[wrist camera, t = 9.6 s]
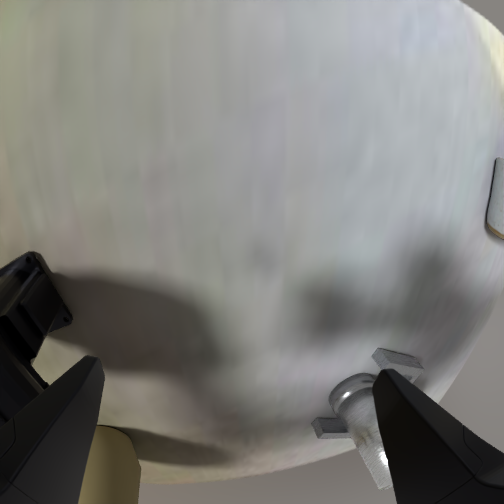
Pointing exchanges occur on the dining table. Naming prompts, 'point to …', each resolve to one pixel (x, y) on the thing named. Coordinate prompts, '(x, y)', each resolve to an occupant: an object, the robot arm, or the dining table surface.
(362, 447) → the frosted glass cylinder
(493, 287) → the dining table surface
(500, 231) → the ceramic mug
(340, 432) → the duct saddle
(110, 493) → the squeeze bottle
